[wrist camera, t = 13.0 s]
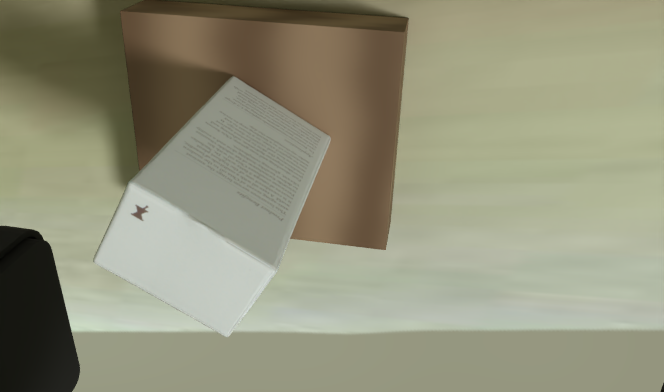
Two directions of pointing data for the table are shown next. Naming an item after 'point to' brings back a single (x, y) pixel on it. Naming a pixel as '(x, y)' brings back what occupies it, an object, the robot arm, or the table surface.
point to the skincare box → (216, 207)
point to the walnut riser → (282, 94)
